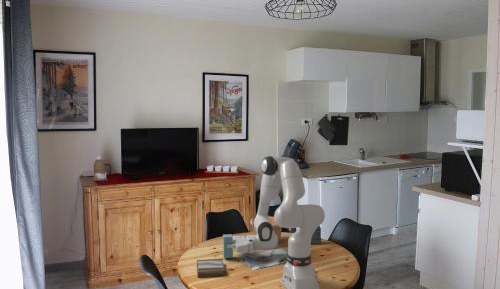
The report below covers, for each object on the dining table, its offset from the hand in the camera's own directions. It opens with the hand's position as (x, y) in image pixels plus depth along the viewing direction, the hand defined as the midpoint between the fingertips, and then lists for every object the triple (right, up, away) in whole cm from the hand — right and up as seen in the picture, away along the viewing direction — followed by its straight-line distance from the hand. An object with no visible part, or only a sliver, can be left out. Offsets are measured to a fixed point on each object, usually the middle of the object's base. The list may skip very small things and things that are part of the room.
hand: (226, 244), depth 232 cm
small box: (+54, -6, +29) cm, 62 cm away
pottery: (+25, -6, +29) cm, 39 cm away
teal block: (+1, -7, +1) cm, 7 cm away
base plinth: (-8, -10, -16) cm, 20 cm away
